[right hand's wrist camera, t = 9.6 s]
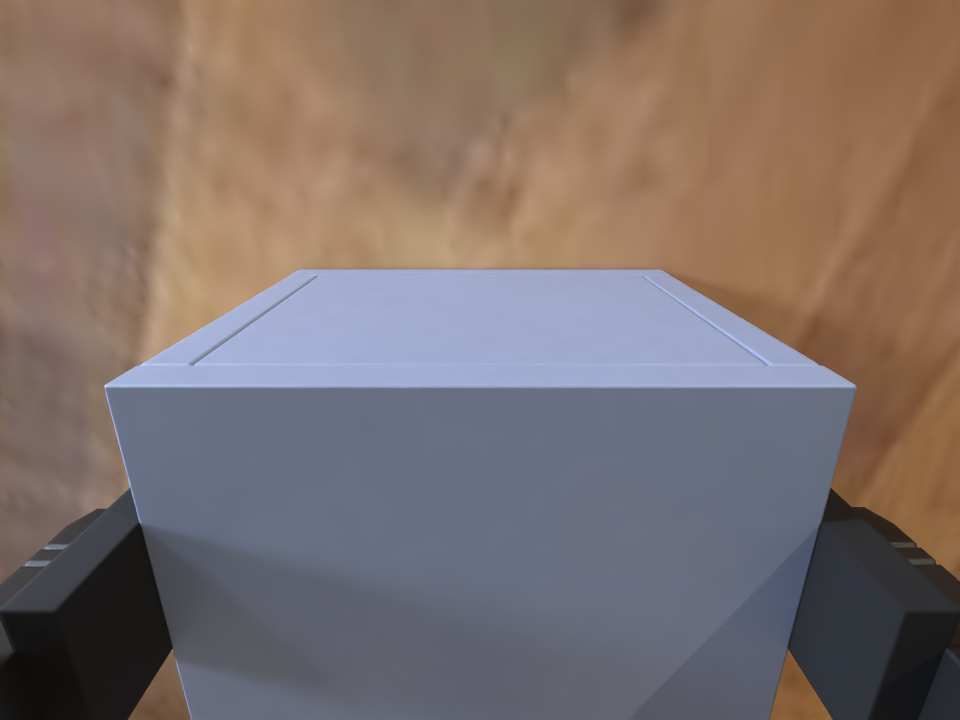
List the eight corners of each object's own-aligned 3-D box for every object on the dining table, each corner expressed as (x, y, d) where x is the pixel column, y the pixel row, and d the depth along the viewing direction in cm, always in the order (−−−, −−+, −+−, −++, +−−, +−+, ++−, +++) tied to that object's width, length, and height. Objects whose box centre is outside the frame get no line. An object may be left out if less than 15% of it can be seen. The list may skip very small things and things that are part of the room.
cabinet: (609, 716, 23) (685, 1041, 14) (350, 716, 23) (274, 1041, 14) (662, 269, 16) (859, 386, 8) (298, 269, 16) (101, 385, 8)
